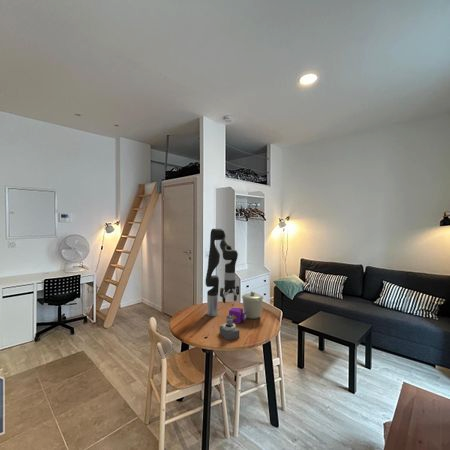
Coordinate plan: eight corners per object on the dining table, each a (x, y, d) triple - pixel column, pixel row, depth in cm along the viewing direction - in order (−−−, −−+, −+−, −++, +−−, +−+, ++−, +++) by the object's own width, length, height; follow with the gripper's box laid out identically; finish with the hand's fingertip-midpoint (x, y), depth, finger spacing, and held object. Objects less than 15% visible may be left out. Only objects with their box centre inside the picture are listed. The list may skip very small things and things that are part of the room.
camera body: (219, 333, 172) (219, 323, 171) (230, 330, 176) (230, 321, 176) (227, 340, 161) (227, 329, 161) (239, 337, 165) (239, 327, 165)
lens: (225, 327, 169) (225, 315, 169) (230, 326, 172) (230, 314, 171) (228, 330, 165) (228, 318, 165) (234, 328, 167) (234, 316, 167)
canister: (261, 312, 212) (261, 288, 212) (265, 320, 194) (265, 294, 194) (240, 312, 212) (240, 288, 212) (242, 320, 194) (242, 294, 194)
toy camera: (245, 324, 186) (245, 312, 186) (228, 323, 189) (228, 310, 189) (247, 319, 197) (247, 307, 197) (230, 318, 199) (230, 305, 199)
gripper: (235, 276, 175) (235, 298, 175) (218, 278, 168) (218, 301, 168) (241, 278, 168) (241, 301, 168) (223, 280, 161) (223, 305, 162)
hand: (229, 301), depth 168 cm, fingers open, 8 cm apart
